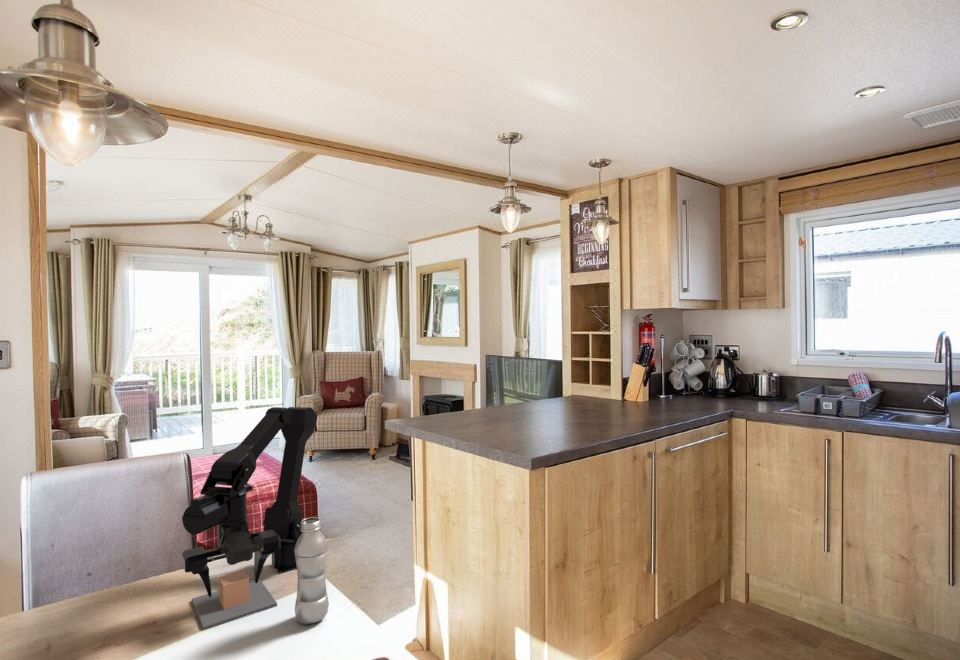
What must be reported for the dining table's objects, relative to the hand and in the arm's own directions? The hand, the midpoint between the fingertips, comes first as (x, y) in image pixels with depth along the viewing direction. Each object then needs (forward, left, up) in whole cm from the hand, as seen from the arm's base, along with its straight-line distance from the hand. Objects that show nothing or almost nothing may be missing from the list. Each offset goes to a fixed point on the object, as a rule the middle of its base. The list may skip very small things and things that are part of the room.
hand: (233, 589), depth 111 cm
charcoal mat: (0, 0, -3) cm, 3 cm away
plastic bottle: (-11, +17, -3) cm, 21 cm away
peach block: (0, 0, -2) cm, 3 cm away
